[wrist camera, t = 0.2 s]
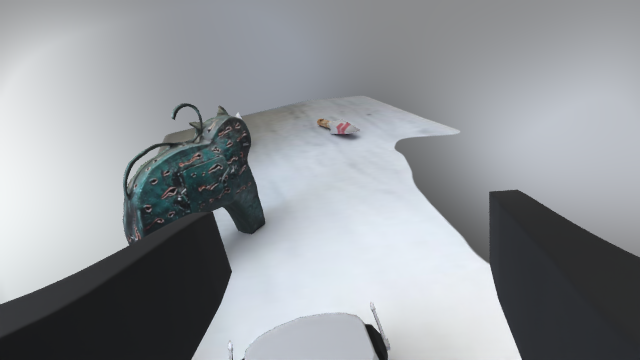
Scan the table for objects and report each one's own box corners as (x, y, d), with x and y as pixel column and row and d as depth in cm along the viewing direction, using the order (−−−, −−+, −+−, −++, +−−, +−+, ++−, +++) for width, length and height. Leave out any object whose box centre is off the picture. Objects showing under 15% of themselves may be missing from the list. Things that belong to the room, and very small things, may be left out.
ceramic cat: (252, 214, 64) (216, 88, 56) (283, 220, 60) (249, 86, 52) (142, 291, 49) (74, 135, 42) (173, 304, 46) (105, 136, 38)
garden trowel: (345, 128, 88) (312, 118, 106) (348, 140, 89) (315, 128, 107) (361, 123, 89) (326, 114, 107) (363, 135, 90) (328, 124, 108)
